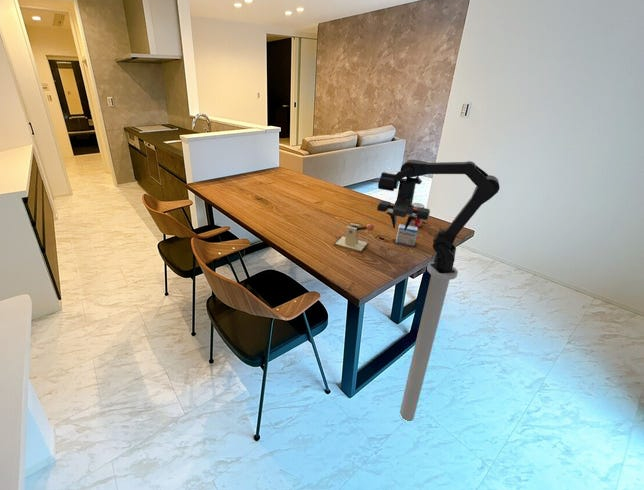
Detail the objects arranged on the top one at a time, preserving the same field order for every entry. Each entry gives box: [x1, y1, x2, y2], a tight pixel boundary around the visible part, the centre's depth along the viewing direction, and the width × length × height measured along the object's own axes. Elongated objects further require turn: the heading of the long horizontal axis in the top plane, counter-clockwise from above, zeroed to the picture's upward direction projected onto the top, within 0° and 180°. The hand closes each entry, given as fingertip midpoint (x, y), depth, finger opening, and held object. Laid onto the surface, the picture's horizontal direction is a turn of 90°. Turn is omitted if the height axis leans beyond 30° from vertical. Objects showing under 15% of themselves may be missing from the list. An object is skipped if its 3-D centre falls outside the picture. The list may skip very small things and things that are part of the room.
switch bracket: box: [335, 222, 368, 252], centre depth 134 cm, size 12×9×10 cm
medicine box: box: [395, 223, 419, 247], centre depth 135 cm, size 8×4×9 cm, turn 68°
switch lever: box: [351, 223, 375, 232], centre depth 130 cm, size 11×3×3 cm, turn 57°
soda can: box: [407, 202, 425, 228], centre depth 152 cm, size 7×7×12 cm
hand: (399, 229), depth 121 cm, fingers open, 4 cm apart
